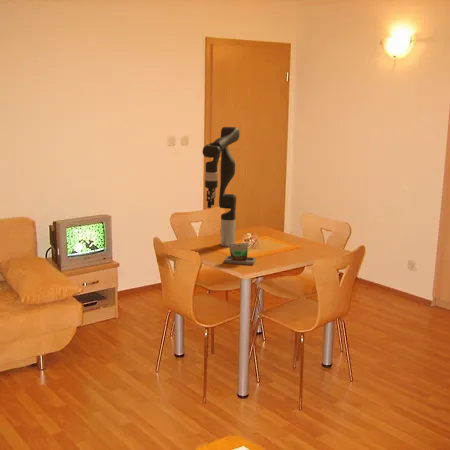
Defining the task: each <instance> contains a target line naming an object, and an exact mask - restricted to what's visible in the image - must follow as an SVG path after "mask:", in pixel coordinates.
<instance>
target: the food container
mask: <svg viewBox="0 0 450 450" xmlns="http://www.w3.org/2000/svg"><path fill="white" fill-rule="evenodd" d="M249 246H250V244H249V242H246V243H239V242H238V243H235V244H233V245H230V244H229V245H228V247H227V248H228V249H229V254H230V256H231V259H232V260H237V261H245V260H246V259H247V257H248V251H249V250H248V249H249Z"/></svg>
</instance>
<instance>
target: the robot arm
mask: <svg viewBox="0 0 450 450" xmlns="http://www.w3.org/2000/svg"><path fill="white" fill-rule="evenodd" d="M239 139H240V130H239V128H238V127H235V126H223V127H221V129H220V137H219V138H217V139H215V140H214V141H213V142H210V143H208V144H206V145H205V146H203V148H202V155H203V156H204V157H205V158H209V159H212V160H211V161H206V163H205V173H204V187H205V188H206V189H207V190H206V202H207V208H208V209H212V206H214V205H215V198H216V189H217V188H218V178H219V177H218V176H220V181H219V183H220V184H219V185H220V186H219V196H218V205H219V208H220V209H229V211H227V212H224V213H222V214H221V215H220V238H219V239H220V241H219V242H220V243H219V245H220V246H222V247H227V246H228V245H229V244H230V245H233V244H236V243H235V242H236V208H237V196H236V194H235V193H232V194H230V193H226V190H227V187H228V185H229V184H230V182H231V180H232V179H233V178H234V176H235V175H236V162H235V159H234V157H233V155H232V154H231V152H230V150H229V146H230V145H232V144H234V143H236V142H238V141H239ZM219 160H220V175H219V173H218V166H219Z"/></svg>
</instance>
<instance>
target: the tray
mask: <svg viewBox="0 0 450 450" xmlns="http://www.w3.org/2000/svg"><path fill="white" fill-rule="evenodd" d="M256 259H257V258H256V257H251V256H250V257H249V256H247V259H246V260H245V261H237V260H232V259H231V255H226V257H225V258H224V261H223V262H224V264H231V265H245V266H246V265H247V266H254V265H255V263H256Z"/></svg>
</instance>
